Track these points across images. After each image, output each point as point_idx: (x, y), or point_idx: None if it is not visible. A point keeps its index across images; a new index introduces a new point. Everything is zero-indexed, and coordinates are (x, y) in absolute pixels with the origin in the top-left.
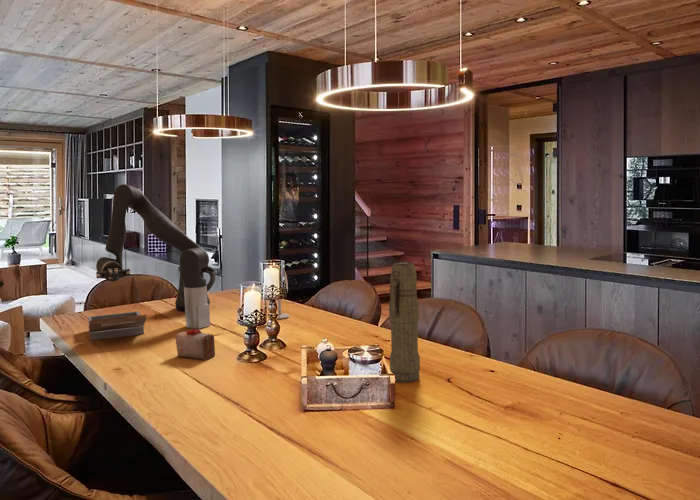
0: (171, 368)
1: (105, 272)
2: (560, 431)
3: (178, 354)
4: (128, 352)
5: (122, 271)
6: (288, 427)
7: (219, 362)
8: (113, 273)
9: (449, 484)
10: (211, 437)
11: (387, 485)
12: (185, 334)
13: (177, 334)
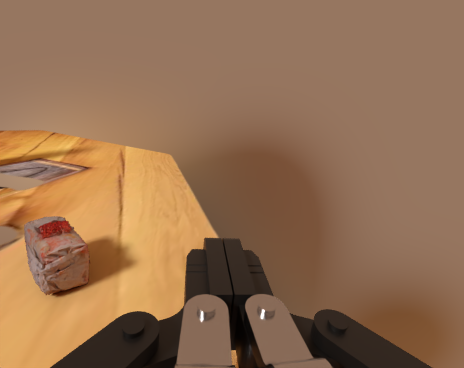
0: (128, 244)
1: (339, 312)
2: (12, 139)
3: (88, 275)
4: None
5: (112, 329)
6: (114, 163)
7: None
8: (230, 238)
9: (96, 142)
10: (158, 168)
11: (115, 145)
12: (69, 236)
13: (81, 243)
